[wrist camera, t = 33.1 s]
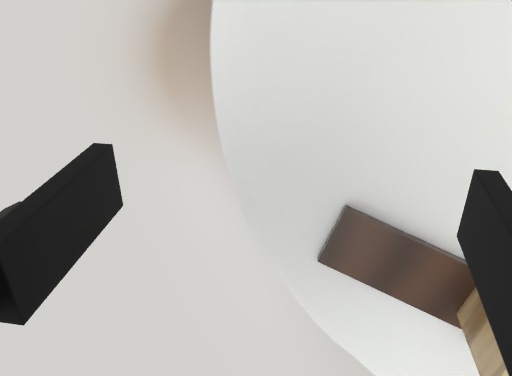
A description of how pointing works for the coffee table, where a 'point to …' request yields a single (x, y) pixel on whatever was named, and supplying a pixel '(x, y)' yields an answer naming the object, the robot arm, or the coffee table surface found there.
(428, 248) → the wooden block stand
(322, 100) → the coffee table surface
